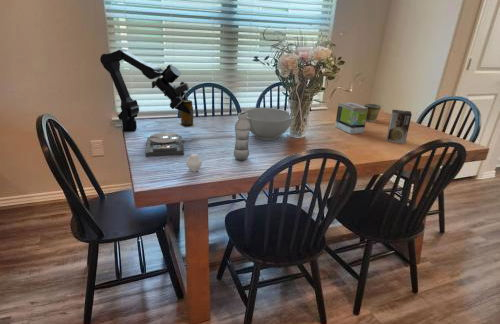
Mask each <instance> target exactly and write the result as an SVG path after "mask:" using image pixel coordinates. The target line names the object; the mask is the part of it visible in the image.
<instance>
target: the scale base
mask: <svg viewBox="0 0 500 324" xmlns="http://www.w3.org/2000/svg"><path fill="white" fill-rule="evenodd" d="M178 136H179V140H178V141H176V142H174V143H169V144H157V143H153V142H151V141H150V136H148V137H147V138H146V146H145V157H146V158H147V157H149V158H151V157H153V158H154V157H168V156H170V157H171V156H185V149H184V143H183V137H182V135H181V136H180V135H178Z"/></svg>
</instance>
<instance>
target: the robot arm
mask: <svg viewBox="0 0 500 324" xmlns="http://www.w3.org/2000/svg"><path fill="white" fill-rule="evenodd" d="M99 61H100V63H101V65H102V67H103V68H104V69H105V70H106V71H107V72H108V73H109V75H110V77H111V80H112V82H113V85H114V88H115V89H116V91H117V93H118V96H119V99H120V110H121V111H120V113H119V114H117V117H118V120H119V121H121V126H122V130H121V131H122V132H136V130H137V129H138V126H137V120H136V118H137V117H138V114H139V113H140V106H139V104H138V101H137V99H133V98H131V95H130V92H129V90H128V88H127V85H126V82H125V81H124V78H123V76H122V73H121V70H120V68H121V62H120V61H124V62H125V63H127V64H129V65H131V66H133V67H134V68H136V69H138V70H139V71H140V72H141V73H142V75H143V76H144V77H146V78H147V79H148V80H153V81H151V88H152V89H154V88H155V87H157V89H158V90H159V91H161V92H162V94H164V97H166V98H168V100H170V103H169V108H170V109H172V110H179V111H180V112H181V111H183V112H185V113H188V114H190V113H191V112H190V110H189V109H188V108H187V107H186V105H185V104H184V100H187V91H189V90H190V87H189V84H188V83H187V82H185V81H181V82H179V85H177V86H176V85H172V84H173V83H174V82H175V81H177V80H178V78H179V77H180V76H181V75H182V74H181V71H180V70H179V68H177V67H176V66H174V65H172V64H168V65H167V66H166V68H165V69H163V68H161V67H160V66H159V65H156V64H153V63H148V62H146V61H144V60H143V59H141V58H140V57H138V56H136V55H134V54H132V53H131V52H129V51H128V50H127V49H124V48H123V49H117V50H115V51H113V52H108V53H107V52H106V53H102V54H101V55H100V58H99ZM155 79H156V80H155Z"/></svg>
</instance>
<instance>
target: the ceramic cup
mask: <svg viewBox="0 0 500 324" xmlns="http://www.w3.org/2000/svg"><path fill="white" fill-rule="evenodd" d="M363 106H365V107H368V112H367V118H366V122H368V123H374V122H376V121H377V118H378V116H379V114H380V111H381V108H382V106H381V105H380V104H375V103H364V105H363Z"/></svg>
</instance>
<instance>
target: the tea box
mask: <svg viewBox="0 0 500 324" xmlns="http://www.w3.org/2000/svg"><path fill="white" fill-rule="evenodd" d="M336 111H337V112H336V118H335V124H334V125H335V126H334V127H335V128H338V129H340V130H342V131H344V132H346V133H348V134H349V135H350V134H351V135H352V134H363V133H364V132H365V127H366V124H367V123H366V122H367V121H366V118H367V112H368V107H365V106H364V105H363V104H362V105H361V104H358V103H355V102H352V101H351V102H349V101H347V102H338V105H337V110H336Z"/></svg>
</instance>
